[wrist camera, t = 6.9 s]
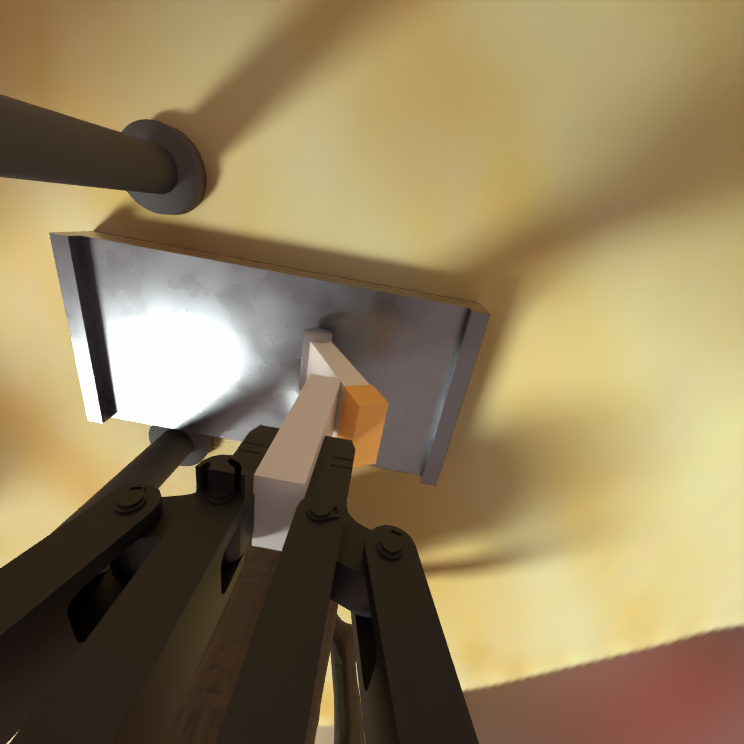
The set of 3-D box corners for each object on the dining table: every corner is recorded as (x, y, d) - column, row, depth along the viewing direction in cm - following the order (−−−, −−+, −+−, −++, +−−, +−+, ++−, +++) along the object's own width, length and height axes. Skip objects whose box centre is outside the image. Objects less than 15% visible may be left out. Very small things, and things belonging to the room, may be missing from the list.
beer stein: (205, 552, 32) (-19, 998, 14) (246, 476, 28) (3, 973, 10) (350, 605, 35) (319, 1025, 17) (406, 544, 31) (444, 1014, 13)
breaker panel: (118, 400, 26) (87, 420, 23) (92, 231, 21) (49, 232, 18) (432, 459, 26) (435, 485, 23) (479, 303, 21) (490, 314, 18)
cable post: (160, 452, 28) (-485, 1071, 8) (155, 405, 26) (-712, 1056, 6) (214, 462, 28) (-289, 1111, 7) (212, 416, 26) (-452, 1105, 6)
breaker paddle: (295, 383, 21) (344, 474, 15) (300, 327, 20) (357, 400, 13) (320, 382, 22) (377, 467, 15) (327, 328, 20) (393, 397, 14)
